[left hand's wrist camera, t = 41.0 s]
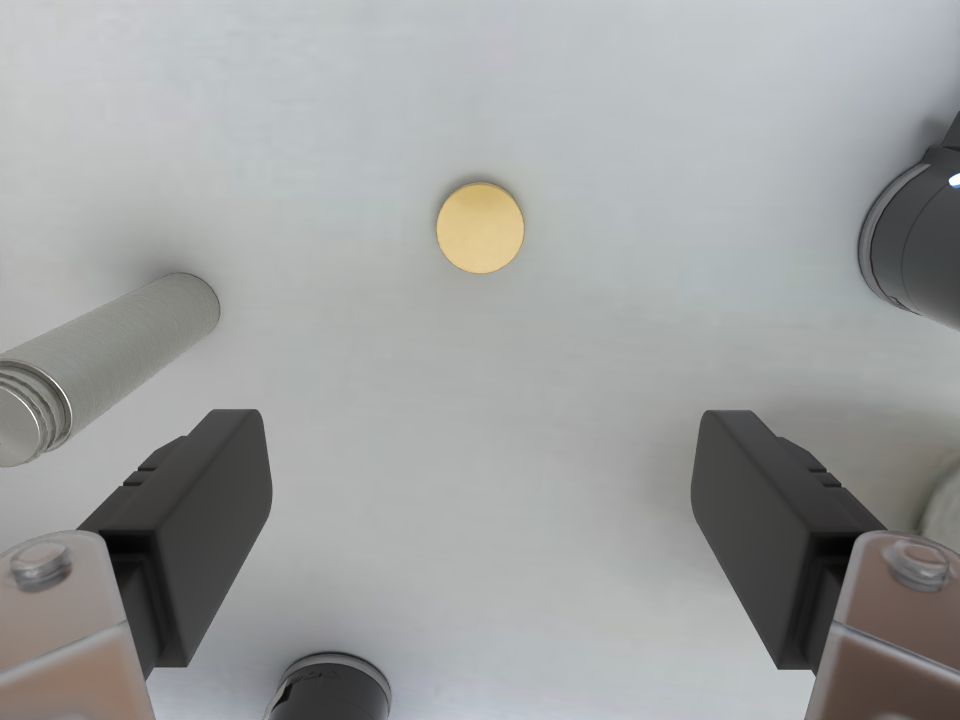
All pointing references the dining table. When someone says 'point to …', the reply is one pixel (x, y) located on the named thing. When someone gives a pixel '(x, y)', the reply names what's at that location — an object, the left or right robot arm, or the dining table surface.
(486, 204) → the lid
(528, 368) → the dining table surface
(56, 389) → the silver metal cylinder
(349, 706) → the right robot arm
